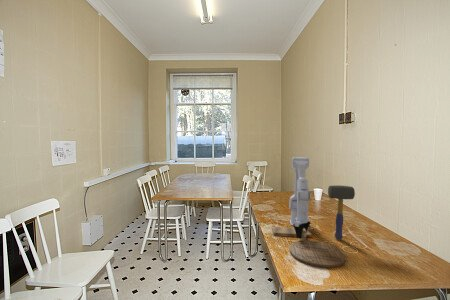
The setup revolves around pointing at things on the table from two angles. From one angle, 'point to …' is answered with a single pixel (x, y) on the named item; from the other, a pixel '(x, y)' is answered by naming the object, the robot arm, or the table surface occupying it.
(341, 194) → the rubber mallet
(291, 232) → the board
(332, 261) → the trivet
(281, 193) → the table surface
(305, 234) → the beige block with handle
